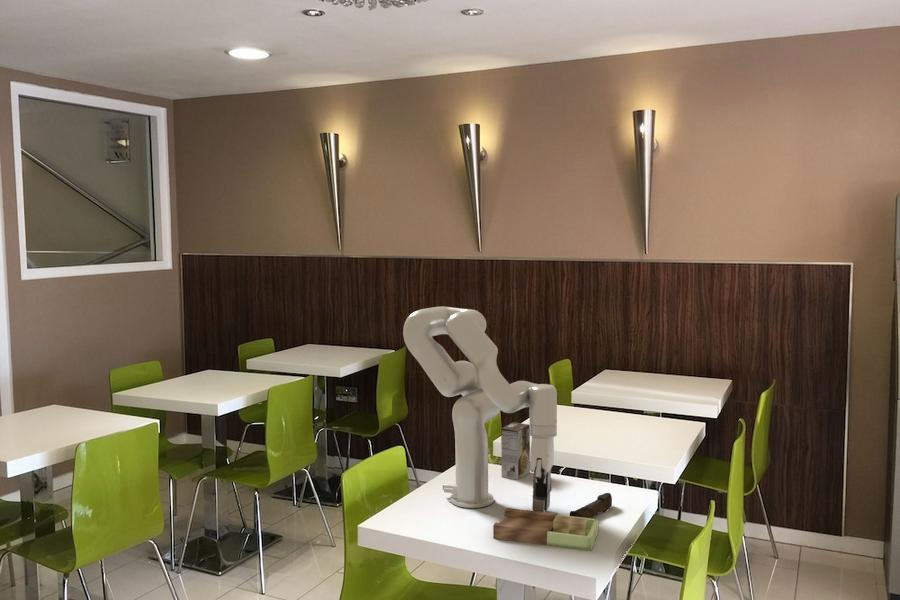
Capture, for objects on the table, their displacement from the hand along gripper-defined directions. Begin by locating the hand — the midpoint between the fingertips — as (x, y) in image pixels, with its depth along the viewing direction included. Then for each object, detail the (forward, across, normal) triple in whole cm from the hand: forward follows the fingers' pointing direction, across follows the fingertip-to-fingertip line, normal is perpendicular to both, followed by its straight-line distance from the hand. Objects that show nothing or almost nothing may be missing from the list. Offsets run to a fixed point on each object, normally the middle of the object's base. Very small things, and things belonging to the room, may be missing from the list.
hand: (543, 493), depth 213 cm
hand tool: (+6, -4, +13) cm, 15 cm away
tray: (+6, +14, +11) cm, 19 cm away
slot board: (+6, +14, -2) cm, 15 cm away
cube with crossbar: (+4, 0, -1) cm, 4 cm away
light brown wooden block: (+5, +14, +12) cm, 19 cm away
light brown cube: (+5, +14, +8) cm, 17 cm away
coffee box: (+6, -32, -16) cm, 36 cm away
